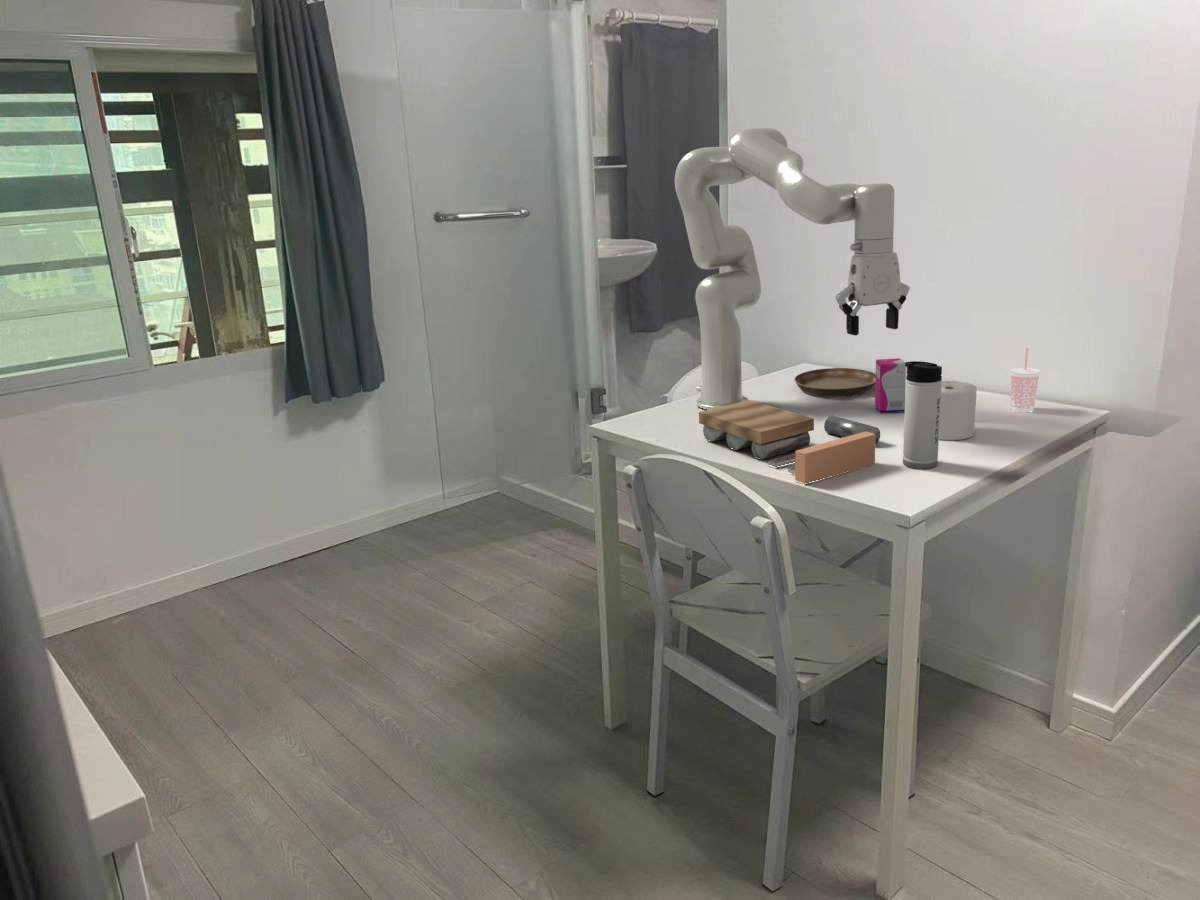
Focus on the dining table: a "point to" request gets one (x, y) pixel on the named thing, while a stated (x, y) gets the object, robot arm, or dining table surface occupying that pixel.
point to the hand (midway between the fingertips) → (872, 331)
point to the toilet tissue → (957, 410)
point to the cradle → (784, 462)
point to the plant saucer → (836, 382)
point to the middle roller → (737, 442)
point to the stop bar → (835, 457)
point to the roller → (848, 427)
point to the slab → (756, 421)
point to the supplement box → (890, 385)
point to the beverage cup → (1024, 387)
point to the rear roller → (713, 433)
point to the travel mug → (922, 414)
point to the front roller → (780, 445)
